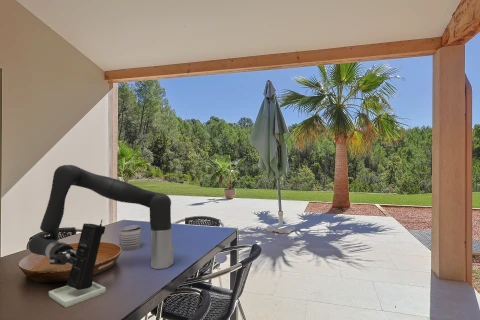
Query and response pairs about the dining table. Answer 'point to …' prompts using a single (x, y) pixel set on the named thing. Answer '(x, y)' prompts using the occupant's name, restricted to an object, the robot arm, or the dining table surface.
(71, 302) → the sage tray
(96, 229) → the portable radio
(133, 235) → the can
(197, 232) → the dining table surface
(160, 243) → the robot arm
